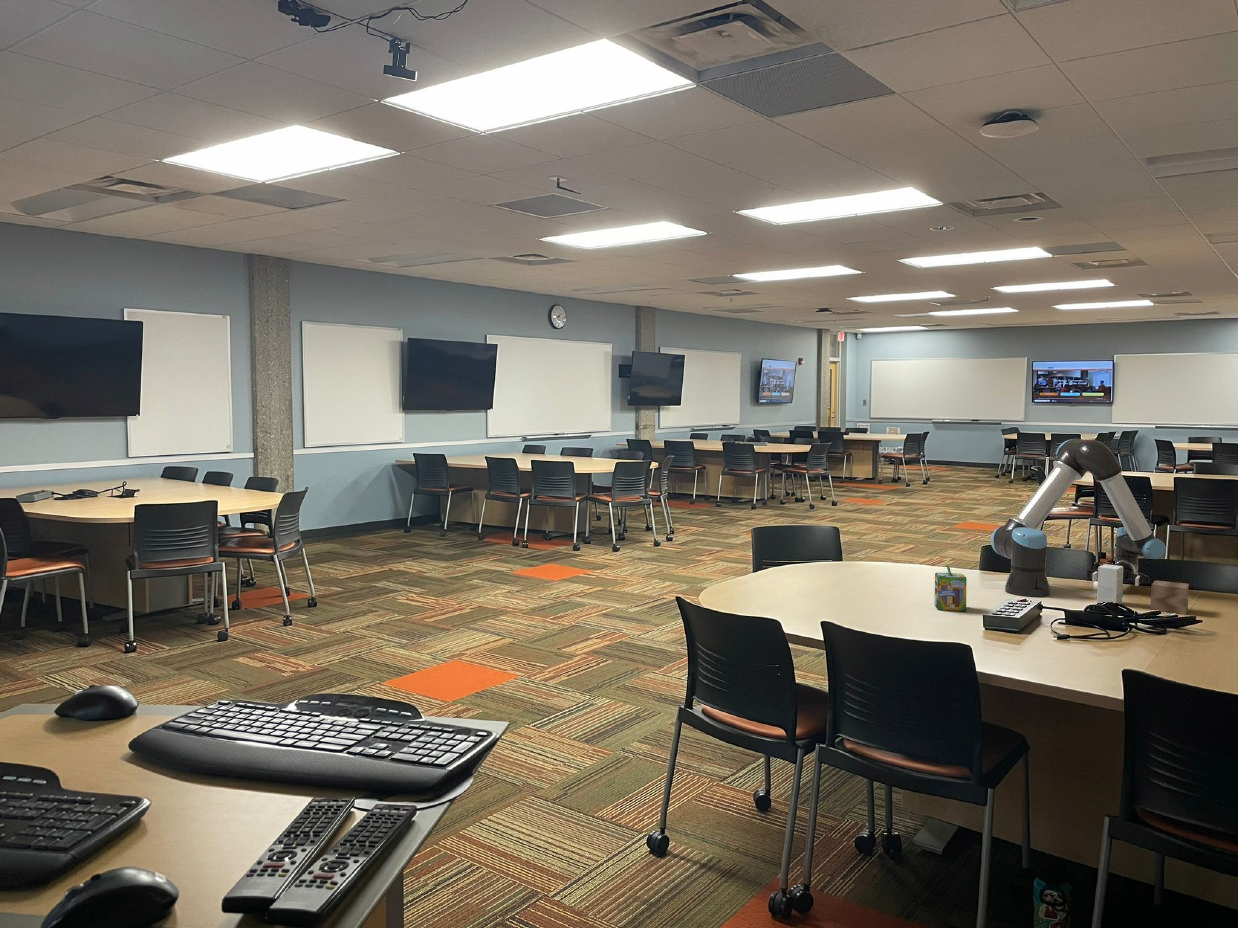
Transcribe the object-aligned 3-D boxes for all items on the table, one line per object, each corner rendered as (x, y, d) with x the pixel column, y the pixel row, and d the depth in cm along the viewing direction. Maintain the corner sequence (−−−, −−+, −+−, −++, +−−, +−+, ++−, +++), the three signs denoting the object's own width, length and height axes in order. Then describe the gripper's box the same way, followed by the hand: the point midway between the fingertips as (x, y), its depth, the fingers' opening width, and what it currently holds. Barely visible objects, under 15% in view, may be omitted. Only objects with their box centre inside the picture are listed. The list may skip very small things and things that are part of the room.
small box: (1102, 600, 323) (1104, 563, 322) (1122, 602, 319) (1123, 566, 318) (1096, 603, 317) (1097, 566, 316) (1116, 606, 312) (1118, 568, 312)
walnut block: (1150, 611, 306) (1151, 584, 305) (1153, 606, 314) (1154, 580, 313) (1185, 615, 300) (1186, 588, 300) (1187, 610, 308) (1188, 583, 308)
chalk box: (966, 611, 301) (967, 567, 301) (937, 610, 303) (938, 566, 302) (961, 606, 311) (963, 563, 310) (933, 604, 312) (934, 562, 311)
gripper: (1160, 585, 334) (1154, 594, 317) (1085, 577, 349) (1075, 585, 332) (1161, 565, 334) (1155, 573, 317) (1086, 558, 348) (1076, 565, 331)
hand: (1114, 579), depth 324 cm, fingers open, 13 cm apart
